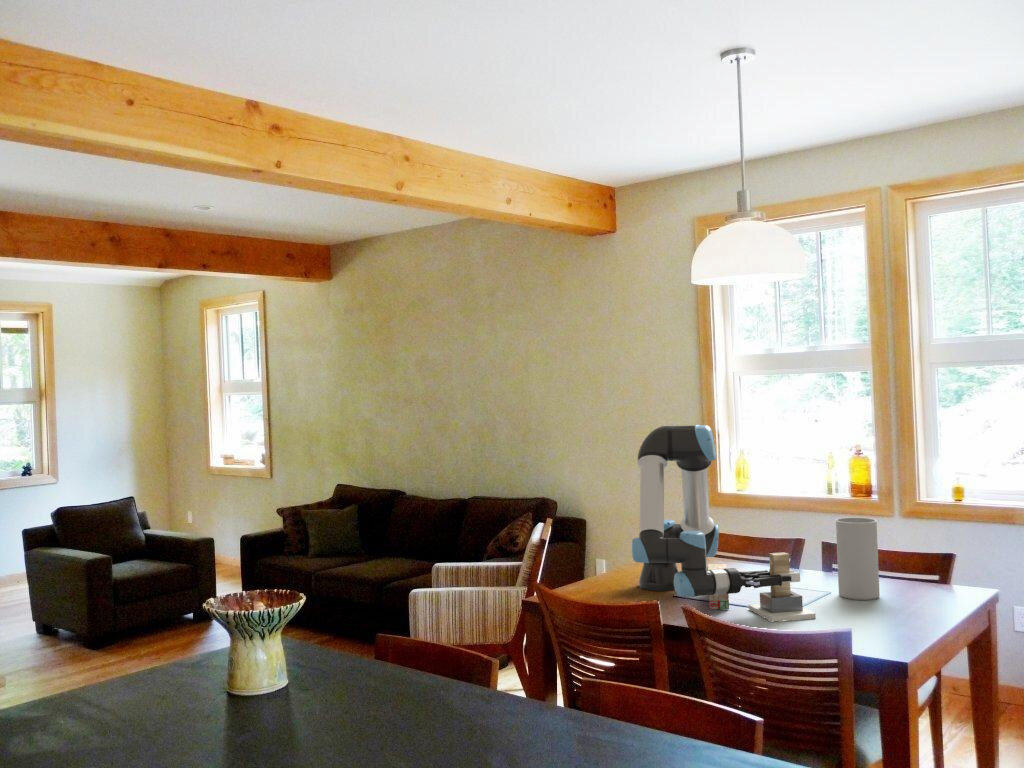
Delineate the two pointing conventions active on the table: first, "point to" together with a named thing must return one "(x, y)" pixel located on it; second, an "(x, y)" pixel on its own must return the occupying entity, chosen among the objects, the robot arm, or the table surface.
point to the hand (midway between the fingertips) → (796, 575)
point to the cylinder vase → (857, 558)
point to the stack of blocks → (721, 599)
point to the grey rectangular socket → (781, 603)
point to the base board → (782, 614)
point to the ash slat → (779, 566)
